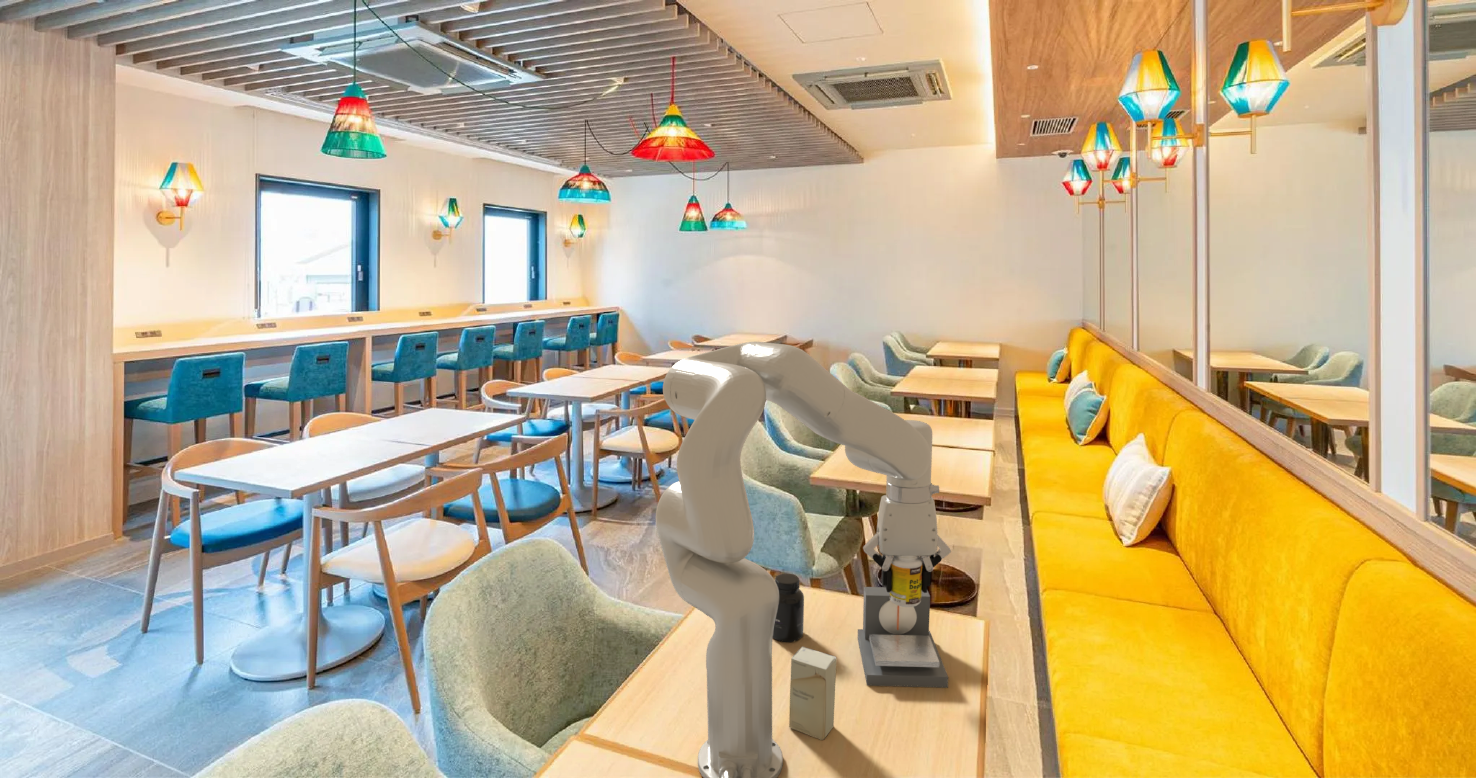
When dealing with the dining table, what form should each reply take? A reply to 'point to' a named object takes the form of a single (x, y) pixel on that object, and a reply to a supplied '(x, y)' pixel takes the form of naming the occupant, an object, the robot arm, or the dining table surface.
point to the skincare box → (812, 692)
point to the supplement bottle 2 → (906, 580)
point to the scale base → (896, 621)
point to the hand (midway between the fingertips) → (905, 588)
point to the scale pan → (903, 651)
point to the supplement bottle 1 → (789, 609)
